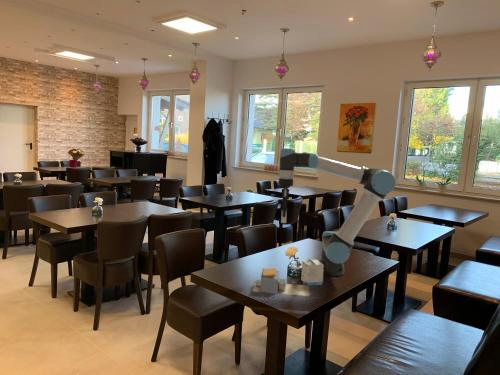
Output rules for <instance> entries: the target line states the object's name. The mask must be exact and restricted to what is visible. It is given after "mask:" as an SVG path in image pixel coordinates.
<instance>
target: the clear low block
mask: <svg viewBox="0 0 500 375" xmlns="http://www.w3.org/2000/svg"><path fill="white" fill-rule="evenodd" d="M255 281H256V287H261V279H260V280H258V279H257V280H255ZM286 282H287V280H286V279H285V278H278V288H279V291H285V286H286V284H287V283H286Z"/></svg>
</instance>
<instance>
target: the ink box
mask: <svg viewBox="0 0 500 375" xmlns="http://www.w3.org/2000/svg"><path fill="white" fill-rule="evenodd" d="M306 258H307V259H306V260H305V259H304V260H301V261H302V262H301V278H300V280H301V281H302V282H303V283H304V284H306V285H307V286H308V287H309V286H322V285H323V284H324V283H323V282H324V274H323V267H324V264H322V263H321V262H319V261H320V260H318V259H311V258H309V257H306Z"/></svg>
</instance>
